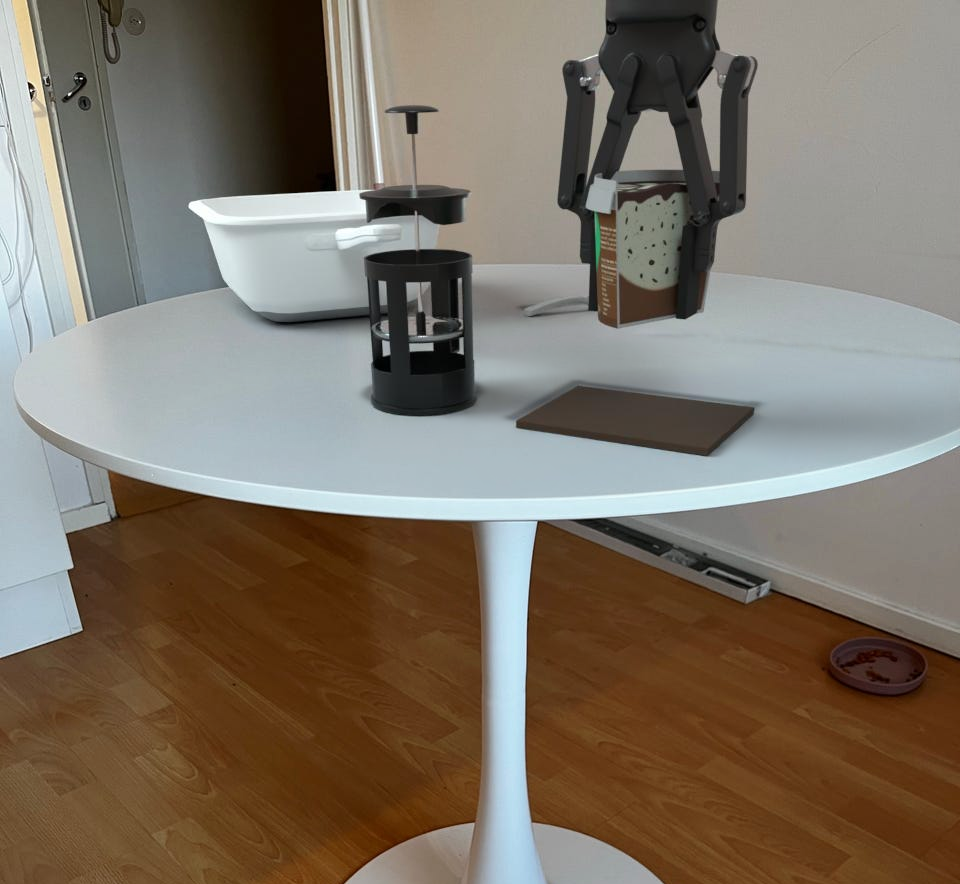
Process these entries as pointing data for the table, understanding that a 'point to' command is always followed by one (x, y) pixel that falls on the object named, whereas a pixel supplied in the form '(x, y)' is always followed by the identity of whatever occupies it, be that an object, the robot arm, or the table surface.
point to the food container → (641, 244)
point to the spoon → (554, 304)
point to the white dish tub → (306, 251)
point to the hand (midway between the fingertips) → (642, 311)
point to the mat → (638, 419)
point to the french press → (420, 301)
